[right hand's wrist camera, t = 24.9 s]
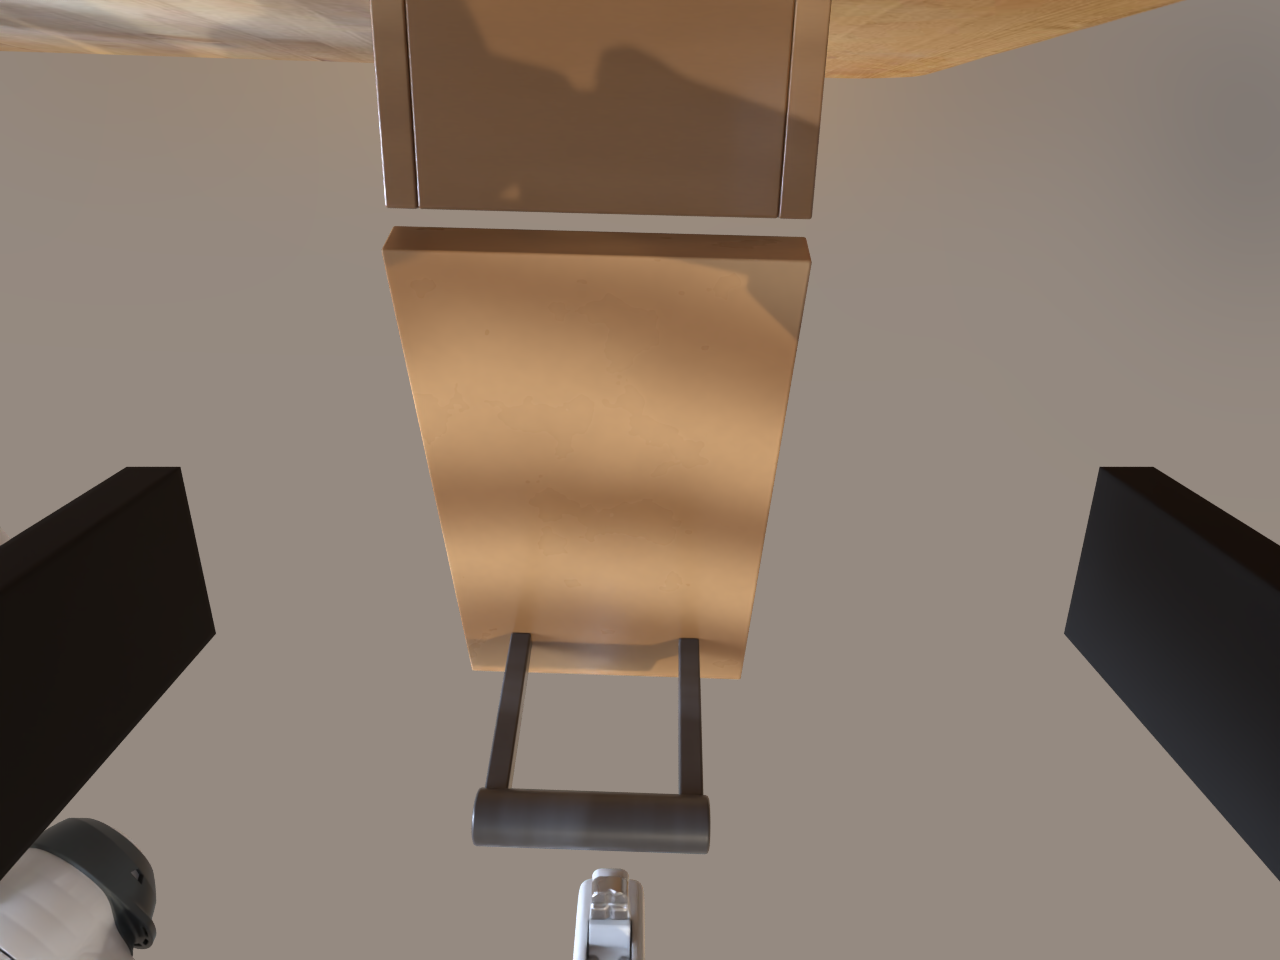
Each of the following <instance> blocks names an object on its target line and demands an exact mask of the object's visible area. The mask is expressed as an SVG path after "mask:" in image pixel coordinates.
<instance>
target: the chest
mask: <svg viewBox="0 0 1280 960" xmlns="http://www.w3.org/2000/svg"><path fill="white" fill-rule="evenodd" d="M830 11H831V0H370V13H371V26H372V39H373V52H374V65H375V78H376V91H377V104H378V117H379V131H380V144H381V157H382V170H383V183H384V195H385V205H386V207H387V208H408V209H416V208H421V209H446V210H484V211H523V212H559V213H598V214H635V215H673V216H710V217H747V218H777V217H779V218H783V219H811V217H812V209H813V198H814V187H815V176H816V165H817V154H818V143H819V132H820V121H821V110H822V99H823V88H824V77H825V66H826V55H827V44H828V33H829V22H830Z"/></svg>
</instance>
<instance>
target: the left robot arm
mask: <svg viewBox="0 0 1280 960" xmlns="http://www.w3.org/2000/svg"><path fill="white" fill-rule="evenodd" d="M9 540H10V538H9V537H8V535H7V534H6V533H5V532H4V531H3V530H2V529H1V528H0V546H1V545H2V544H4V543H5V542H7V541H9ZM155 904H156V889H155V880H154V874H153V870H152V867H151V865H150V864H149V862H148V860H147V859H146V858H145V856H144V855H143V854H142V852H141V850H140V849H139V847H138V846H137V845H136V844H135V843H134V842H133V841H132V840H131V839H130V838H129V837H128V836H126V835H125V834H124V833H122V832H121V831H119V830H117V829H115V828H112V827H110V826H108V825H106V824H104V823H102V822H100V821H97V820H94V819H90V818H68V819H66V820H63V821H61V822H59V823H57V824H56V825H54V826H52V827H50V828H48V829H47V830H45V831H44V832H43V833H42V834H41V835H40V836H39V837H38V838H37V840H36V841H35V842H34V843H33V844H32V845H31V846H30V848H29V849H28V850H27V851H26V852H25V853H24V854H23V856H22V857H21V858H20V859H19V860H18V861H17V862H16V864H15V865H14V866H13V867H12V868H11V869H10V870H9V872H8V873H7V874H6V875H5V876H4V877H3V879H2V880H1V881H0V960H134V958H133V957H132V956H133V947H134V948H137V949H147V948H149V947H150V946H151V945H152V944H153V941H154V939H155V937H156V928H155V925H154V923H153V921H152V916H153V912H154V908H155ZM644 912H645V911H644V891H643V887H642V885H641V883H639V882H638V881H636V880H631V879H629V875H628V873H627V872H626V871H625V870H623V869H604V868H600V869H598V870H596V871H595V872H594V873H593V875H592V879H588V880H585V881H584V882H583V883H582V885H581V887H580V891H579V897H578V907H577V919H576V931H575V943H574V956H573V960H645V913H644Z"/></svg>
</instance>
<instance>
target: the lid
mask: <svg viewBox="0 0 1280 960" xmlns="http://www.w3.org/2000/svg"><path fill="white" fill-rule="evenodd" d="M382 255H383V260H384V265H385V269H386V274H387V278H388V283H389V288H390V292H391V297H392V301H393V306H394V311H395V315H396V320H397V325H398V329H399V334H400V338H401V343H402V347H403V352H404V357H405V361H406V366H407V371H408V375H409V380H410V385H411V389H412V394H413V398H414V403H415V407H416V412H417V417H418V421H419V426H420V431H421V435H422V440H423V445H424V449H425V454H426V458H427V463H428V468H429V472H430V477H431V481H432V486H433V491H434V495H435V500H436V504H437V509H438V514H439V518H440V523H441V527H442V532H443V537H444V541H445V546H446V551H447V555H448V560H449V564H450V569H451V574H452V578H453V583H454V588H455V592H456V597H457V601H458V606H459V611H460V615H461V620H462V625H463V629H464V634H465V638H466V643H467V648H468V652H469V657H470V662H471V666H472V670H474V671H504V672H505V673H504V679H503V685H502V690H501V696H500V702H499V708H498V714H497V720H496V726H495V731H494V738H493V743H492V749H491V755H490V761H489V767H488V773H487V778H486V784H485V788H480V789H479V790H478V792H477V794H476V798H475V802H474V807H473V815H472V840H473V844H474V845H476V846H488V847H517V848H545V849H574V850H602V851H631V852H659V853H687V854H707V853H708V851H709V846H710V803H709V798H708V796H706V795H703V765H702V727H701V689H700V678H717V679H740V678H741V673H742V667H743V661H744V655H745V649H746V643H747V638H748V632H749V626H750V620H751V614H752V608H753V603H754V597H755V591H756V585H757V579H758V573H759V568H760V562H761V556H762V550H763V544H764V538H765V532H766V527H767V521H768V515H769V509H770V503H771V497H772V491H773V486H774V480H775V474H776V468H777V462H778V456H779V451H780V445H781V439H782V433H783V427H784V421H785V415H786V410H787V404H788V398H789V392H790V386H791V380H792V375H793V368H794V363H795V357H796V351H797V345H798V339H799V333H800V328H801V322H802V316H803V310H804V304H805V298H806V293H807V287H808V281H809V275H810V269H811V263H812V262H811V258H810V253H809V249H808V245H807V241H806V238H805V237H778V236H742V235H705V234H667V233H630V232H593V231H554V230H518V229H480V228H443V227H406V226H394V227H393V228H392V231H391V232H390V234H389V236H388V238H387V240H386V242H385V244H384V246H383V248H382ZM528 672H534V673H565V674H596V675H626V676H656V677H678V722H679V723H678V726H679V794H657V793H628V792H599V791H569V790H540V789H512V788H511V787H512V781H513V774H514V767H515V760H516V753H517V746H518V740H519V733H520V726H521V719H522V712H523V705H524V699H525V691H526V685H527V678H528Z"/></svg>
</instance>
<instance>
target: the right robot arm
mask: <svg viewBox="0 0 1280 960" xmlns="http://www.w3.org/2000/svg"><path fill="white" fill-rule="evenodd" d="M215 634H216V632H215V627H214V622H213V618H212V613H211V608H210V604H209V599H208V594H207V590H206V585H205V580H204V576H203V571H202V566H201V562H200V557H199V552H198V548H197V543H196V538H195V534H194V529H193V524H192V519H191V515H190V510H189V505H188V501H187V496H186V491H185V487H184V482H183V477H182V473H181V468H180V467H126V468H124V469H122V470H121V471H119V472H118V473H116V474H114V475H113V476H111V477H110V478H108V479H107V480H105V481H103V482H102V483H100V484H98V485H97V486H95V487H94V488H92V489H90V490H89V491H87V492H86V493H84V494H82V495H81V496H79V497H78V498H76V499H74V500H73V501H71V502H70V503H68V504H66V505H65V506H63V507H61V508H60V509H58V510H57V511H55V512H54V513H52V514H50V515H49V516H47V517H45V518H44V519H42V520H41V521H39V522H38V523H36V524H34V525H33V526H31V527H29V528H28V529H26V530H25V531H23V532H21V533H20V534H18V535H17V536H15V537H13V538H12V539H10V540H9V541H7V542H5V543H4V544H2V545H1V546H0V881H1V880H2V879H3V877H4V876H5V875H6V874H7V873H8V872H9V870H10V869H11V868H12V867H13V866H14V865H15V864H16V862H17V861H18V860H19V859H20V858H21V857H22V856H23V854H24V853H25V852H26V851H27V850H28V849H29V848H30V846H31V845H32V844H33V843H34V842H35V841H36V840H37V838H38V837H39V836H40V835H41V834H42V833H43V831H44V830H45V829H46V828H47V827H48V826H49V825H50V823H51V822H52V821H53V820H54V819H55V818H56V817H57V815H58V814H59V813H60V812H61V811H62V810H63V808H64V807H65V806H66V805H67V804H68V803H69V802H70V800H71V799H72V798H73V797H74V796H75V795H76V794H77V792H78V791H79V790H80V789H81V788H82V787H83V786H84V784H85V783H86V782H87V781H88V780H89V779H90V778H91V776H92V775H93V774H94V773H95V772H96V771H97V769H98V768H99V767H100V766H101V765H102V764H103V763H104V761H105V760H106V759H107V758H108V757H109V756H110V755H111V753H112V752H113V751H114V750H115V749H116V748H117V747H118V745H119V744H120V743H121V742H122V741H123V740H124V739H125V737H126V736H127V735H128V734H129V733H130V732H131V730H132V729H133V728H134V727H135V726H136V725H137V724H138V722H139V721H140V720H141V719H142V718H143V717H144V716H145V714H146V713H147V712H148V711H149V710H150V709H151V708H152V706H153V705H154V704H155V703H156V702H157V701H158V699H159V698H160V697H161V696H162V695H163V694H164V693H165V691H166V690H167V689H168V688H169V687H170V686H171V685H172V683H173V682H174V681H175V680H176V679H177V678H178V677H179V675H180V674H181V673H182V672H183V671H184V670H185V668H186V667H187V666H188V665H189V664H190V663H191V662H192V661H193V659H194V658H195V657H196V656H197V655H198V654H199V652H200V651H201V650H202V649H203V648H204V647H205V646H206V644H207V643H208V642H209V641H210V640H211V639H212V638H213V636H214V635H215ZM1064 634H1065V635H1066V636H1067V638H1068V639H1069V640H1070V641H1071V642H1072V643H1073V644H1074V646H1075V647H1076V648H1077V649H1078V650H1079V651H1080V652H1081V654H1082V655H1083V656H1084V657H1085V658H1086V659H1087V660H1088V662H1089V663H1090V664H1091V665H1092V666H1093V667H1094V669H1095V670H1096V671H1097V672H1098V673H1099V674H1100V675H1101V677H1102V678H1103V679H1104V680H1105V681H1106V682H1107V683H1108V685H1109V686H1110V687H1111V688H1112V689H1113V690H1114V691H1115V693H1116V694H1117V695H1118V696H1119V697H1120V698H1121V700H1122V701H1123V702H1124V703H1125V704H1126V705H1127V706H1128V708H1129V709H1130V710H1131V711H1132V712H1133V713H1134V714H1135V716H1136V717H1137V718H1138V719H1139V720H1140V721H1141V722H1142V724H1143V725H1144V726H1145V727H1146V728H1147V729H1148V730H1149V732H1150V733H1151V734H1152V735H1153V736H1154V737H1155V739H1156V740H1157V741H1158V742H1159V743H1160V744H1161V745H1162V747H1163V748H1164V749H1165V750H1166V751H1167V752H1168V753H1169V755H1170V756H1171V757H1172V758H1173V759H1174V760H1175V761H1176V763H1177V764H1178V765H1179V766H1180V767H1181V768H1182V770H1183V771H1184V772H1185V773H1186V774H1187V775H1188V776H1189V777H1190V779H1191V780H1192V781H1193V782H1194V783H1195V784H1196V786H1197V787H1198V788H1199V789H1200V790H1201V791H1202V792H1203V794H1204V795H1205V796H1206V797H1207V798H1208V799H1209V800H1210V802H1211V803H1212V804H1213V805H1214V806H1215V807H1216V808H1217V810H1218V811H1219V812H1220V813H1221V814H1222V815H1223V817H1224V818H1225V819H1226V820H1227V821H1228V822H1229V823H1230V825H1231V826H1232V827H1233V828H1234V829H1235V830H1236V831H1237V833H1238V834H1239V835H1240V836H1241V837H1242V838H1243V839H1244V841H1245V842H1246V843H1247V844H1248V845H1249V846H1250V848H1251V849H1252V850H1253V851H1254V852H1255V853H1256V854H1257V856H1258V857H1259V858H1260V859H1261V860H1262V861H1263V862H1264V864H1265V865H1266V866H1267V867H1268V868H1269V869H1270V870H1271V872H1272V873H1273V874H1274V875H1275V876H1276V877H1277V878H1278V880H1279V881H1280V546H1279V545H1278V544H1276V543H1275V542H1273V541H1271V540H1270V539H1268V538H1267V537H1265V536H1263V535H1262V534H1260V533H1259V532H1257V531H1255V530H1254V529H1252V528H1251V527H1249V526H1247V525H1246V524H1244V523H1243V522H1241V521H1239V520H1238V519H1236V518H1235V517H1233V516H1231V515H1230V514H1228V513H1226V512H1225V511H1223V510H1222V509H1220V508H1218V507H1217V506H1215V505H1214V504H1212V503H1210V502H1209V501H1207V500H1206V499H1204V498H1202V497H1201V496H1199V495H1198V494H1196V493H1194V492H1193V491H1191V490H1190V489H1188V488H1186V487H1185V486H1183V485H1182V484H1180V483H1178V482H1177V481H1175V480H1174V479H1172V478H1170V477H1169V476H1167V475H1166V474H1164V473H1162V472H1161V471H1159V470H1158V469H1156V468H1154V467H1100V468H1099V473H1098V477H1097V482H1096V487H1095V491H1094V496H1093V501H1092V505H1091V510H1090V515H1089V519H1088V524H1087V529H1086V533H1085V538H1084V543H1083V548H1082V552H1081V557H1080V562H1079V566H1078V571H1077V576H1076V580H1075V585H1074V590H1073V594H1072V599H1071V604H1070V608H1069V613H1068V618H1067V623H1066V627H1065V632H1064Z"/></svg>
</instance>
